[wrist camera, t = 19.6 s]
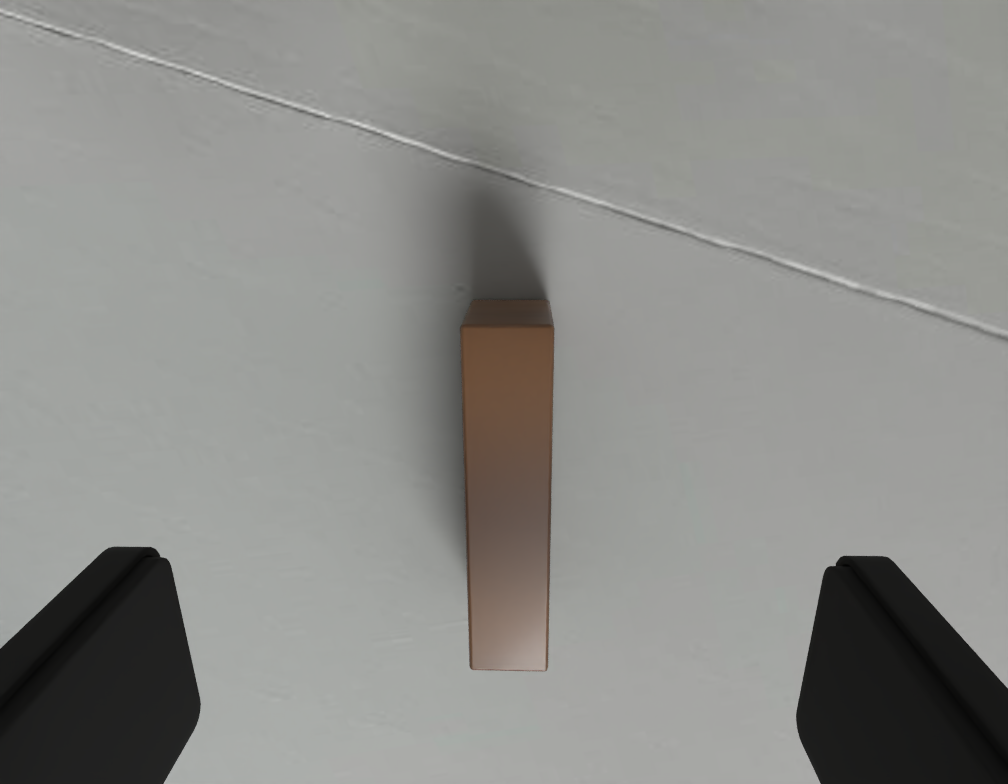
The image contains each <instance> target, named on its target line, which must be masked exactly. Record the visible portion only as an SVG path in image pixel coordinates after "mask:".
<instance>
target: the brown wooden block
mask: <svg viewBox="0 0 1008 784" xmlns="http://www.w3.org/2000/svg"><path fill="white" fill-rule="evenodd" d="M460 343H461V378H462V414H463V449H464V484H465V520H466V555H467V591H468V626H469V662H470V668H471V669H472V670H502V671H546V670H547V668H548V640H549V586H550V533H551V479H552V425H553V371H554V324H553V318H552V313H551V307H550V303H549V301H548V300H473V301H472V302H471V304H470V306H469V309H468V311H467V313H466V316H465V318H464V320H463V322H462V325H461V327H460Z"/></svg>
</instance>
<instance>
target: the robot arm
mask: <svg viewBox="0 0 1008 784" xmlns="http://www.w3.org/2000/svg"><path fill="white" fill-rule="evenodd" d="M200 705H201V703H200V696H199V692H198V687H197V683H196V678H195V673H194V669H193V664H192V660H191V655H190V651H189V646H188V641H187V637H186V632H185V628H184V623H183V618H182V614H181V609H180V605H179V600H178V596H177V591H176V586H175V582H174V577H173V573H172V568H171V565H170V562H169V561H168V560H167V559H166V558H161V557H160V555H159V553H158V552H157V550H156V549H154V548H151V547H111V548H108V549H106V550H105V551H103V552H102V553H101V554H100V555H99V556H98V557H97V558H96V559H95V560H94V561H93V562H92V563H91V564H90V565H88V566H87V567H86V568H85V569H84V570H83V571H82V572H81V573H80V574H79V575H78V576H77V577H76V578H75V579H74V580H73V581H72V582H70V583H69V584H68V585H67V586H66V587H65V588H64V589H63V590H62V591H61V592H60V593H59V594H58V595H57V596H56V597H55V598H54V599H53V600H51V601H50V602H49V603H48V604H47V605H46V606H45V607H44V608H43V609H42V610H41V611H40V612H39V613H38V614H37V615H36V616H35V617H33V618H32V619H31V620H30V621H29V622H28V623H27V624H26V625H25V626H24V627H23V628H22V629H21V630H20V631H19V632H18V633H17V634H16V635H14V636H13V637H12V638H11V639H10V640H9V641H8V642H7V643H6V644H5V645H4V646H3V647H2V648H1V649H0V784H163V783H164V782H165V780H166V778H167V776H168V775H169V773H170V771H171V769H172V768H173V766H174V764H175V762H176V761H177V759H178V757H179V755H180V754H181V752H182V750H183V748H184V747H185V745H186V743H187V741H188V740H189V738H190V736H191V734H192V733H193V731H194V729H195V727H196V725H197V722H198V719H199V714H200ZM796 721H797V729H798V733H799V737H800V740H801V742H802V745H803V747H804V749H805V751H806V753H807V755H808V757H809V759H810V762H811V764H812V766H813V768H814V770H815V772H816V774H817V777H818V779H819V781H820V783H821V784H1008V688H1007V687H1006V686H1005V685H1004V684H1003V683H1002V682H1001V681H1000V680H999V678H998V677H997V676H996V675H995V674H994V673H993V672H992V671H991V670H990V668H989V667H988V666H987V665H986V664H985V663H984V662H983V661H982V660H981V658H980V657H979V656H978V655H977V654H976V653H975V652H974V651H973V650H972V648H971V647H970V646H969V645H968V644H967V643H966V642H965V641H964V640H963V638H962V637H961V636H960V635H959V634H958V633H957V632H956V631H955V630H954V628H953V627H952V626H951V625H950V624H949V623H948V622H947V621H946V620H945V618H944V617H943V616H942V615H941V614H940V613H939V612H938V611H937V610H936V608H935V607H934V606H933V605H932V604H931V603H930V602H929V601H928V600H927V598H926V597H925V596H924V595H923V594H922V593H921V592H920V591H919V590H918V588H917V587H916V586H915V585H914V584H913V583H912V582H911V581H910V580H909V578H908V577H907V576H906V575H905V574H904V573H903V572H902V571H901V570H900V568H899V567H898V566H897V565H896V564H895V563H894V562H893V561H892V560H891V559H889V558H888V557H884V556H843V557H840V558H839V560H838V561H837V563H836V566H830V567H827V569H826V570H825V572H824V575H823V580H822V585H821V590H820V595H819V600H818V605H817V610H816V616H815V621H814V626H813V631H812V636H811V641H810V646H809V651H808V656H807V661H806V666H805V672H804V677H803V682H802V687H801V692H800V697H799V702H798V707H797V714H796Z"/></svg>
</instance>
